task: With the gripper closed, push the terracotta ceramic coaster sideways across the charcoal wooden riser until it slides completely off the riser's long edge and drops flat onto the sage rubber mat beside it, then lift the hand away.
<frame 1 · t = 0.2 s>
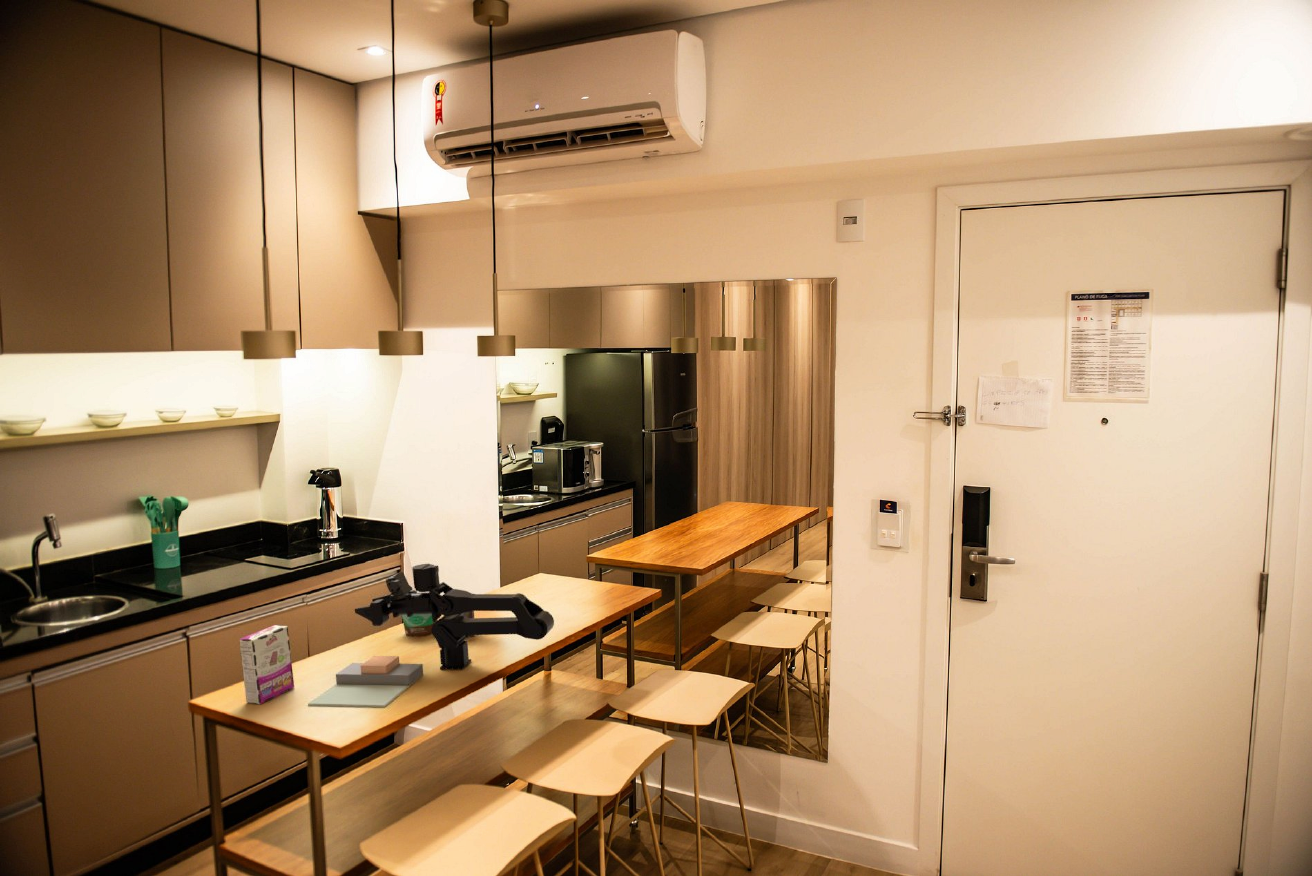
hand: (363, 605, 226), 16 cm above the table, tool horizontal, fingers open, 9 cm apart
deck: (380, 680, 215), on the table
box: (465, 635, 249), on the table
coaster: (380, 668, 215), point 3 cm above the table, touching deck
candy bar box: (270, 696, 209), on the table
mat: (359, 696, 205), on the table
food container: (421, 635, 251), on the table
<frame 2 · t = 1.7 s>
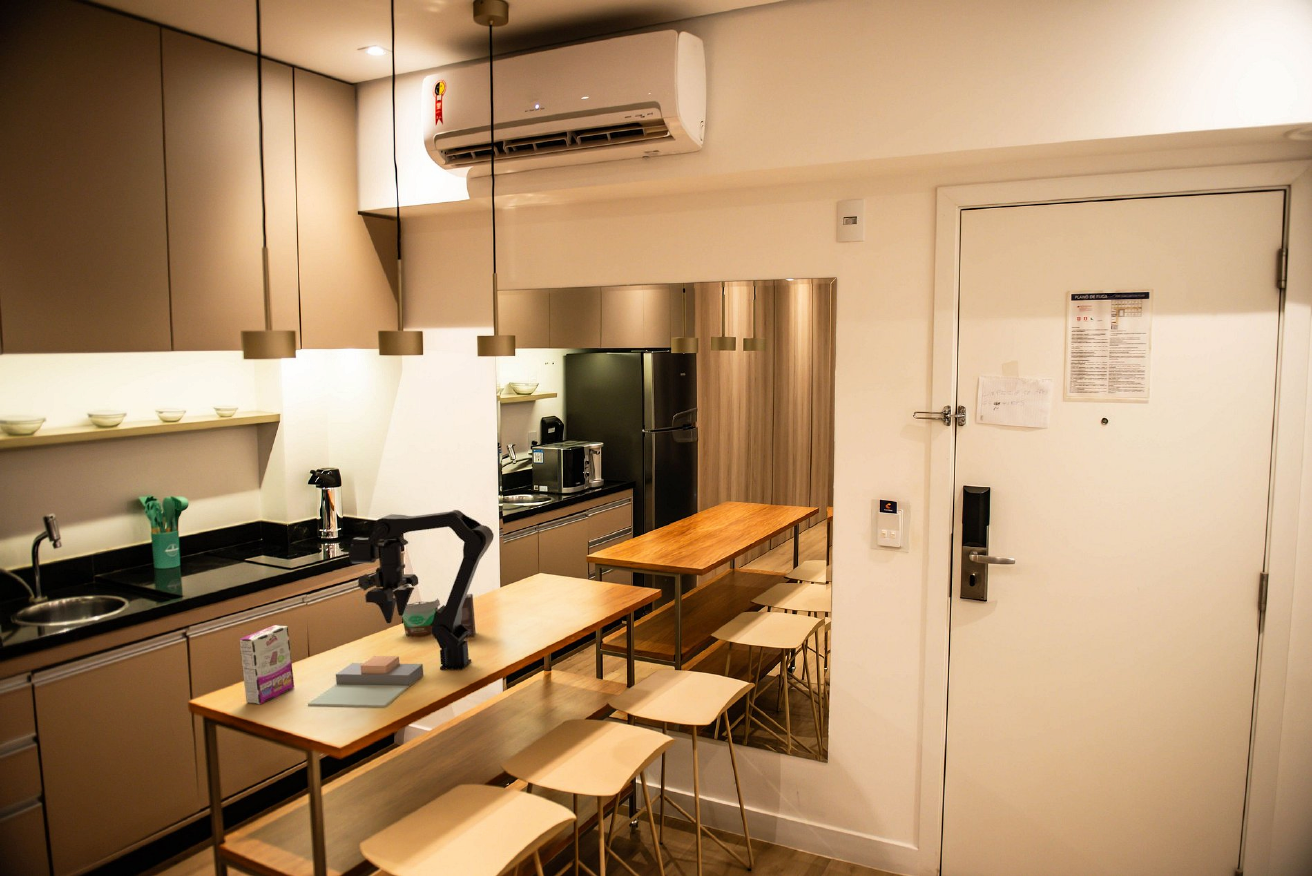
hand: (395, 619, 224), 13 cm above the table, tool pointing down, fingers open, 6 cm apart
nothing on the table moved.
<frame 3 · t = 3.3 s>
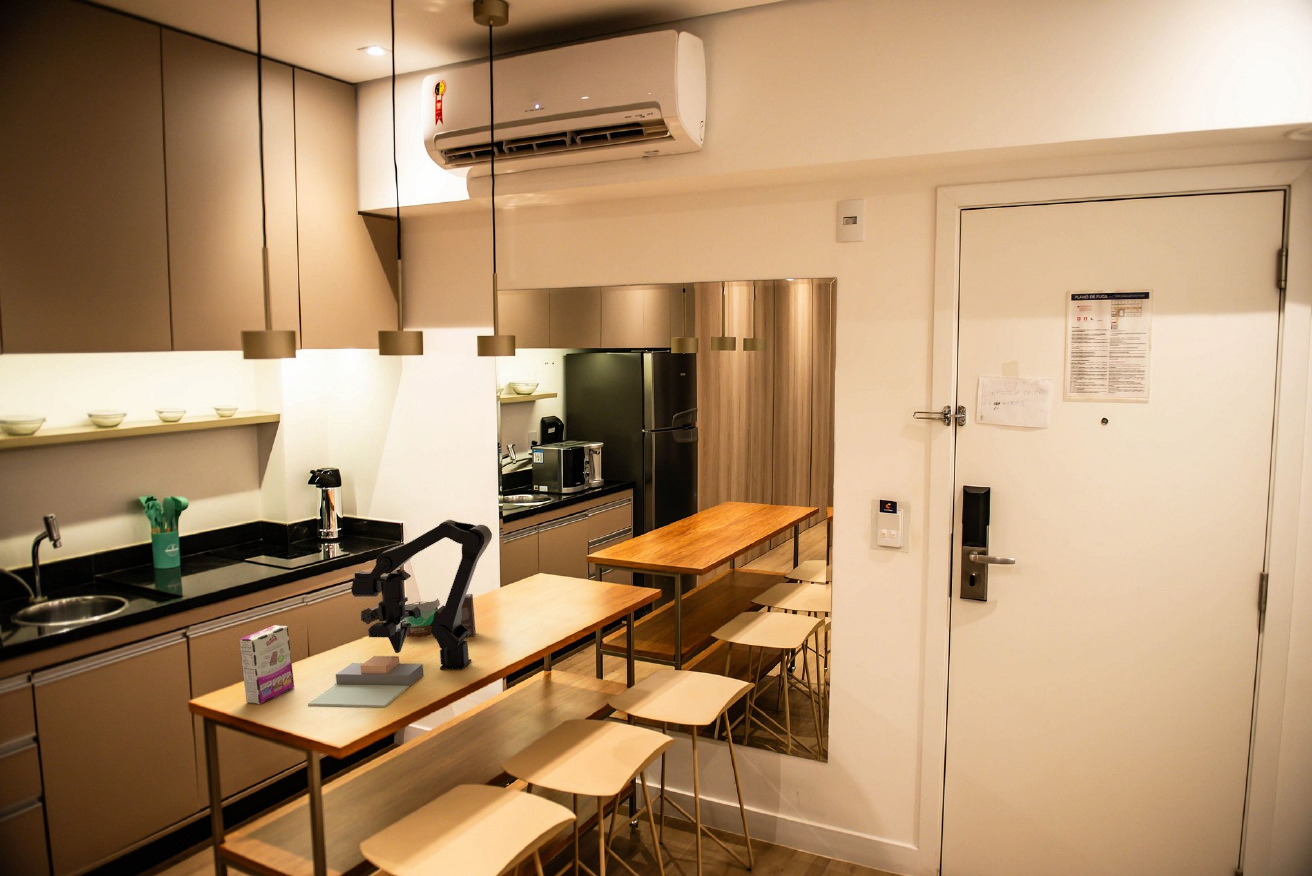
hand: (397, 652, 225), 4 cm above the table, tool pointing down, fingers closed
nothing on the table moved.
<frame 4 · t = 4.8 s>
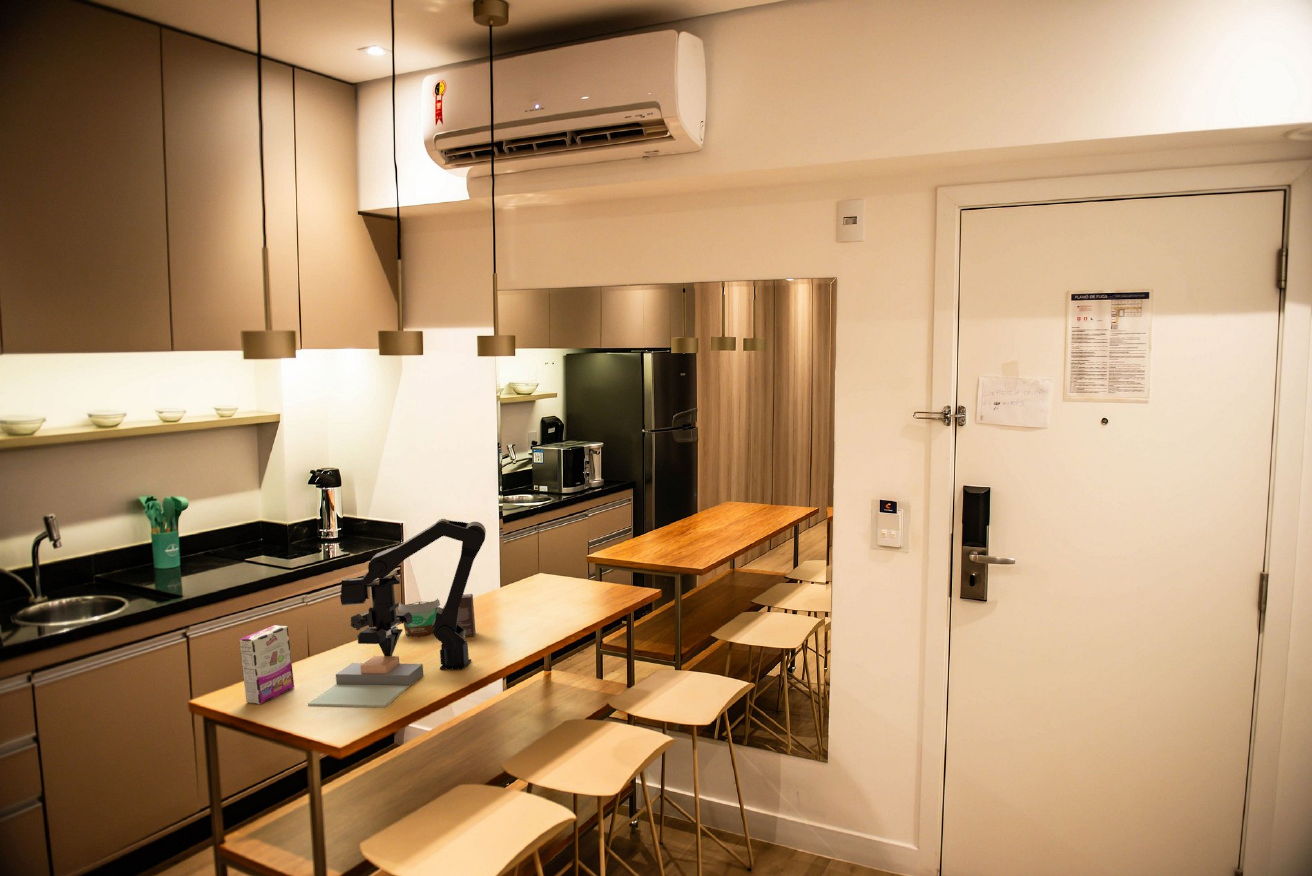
hand: (388, 659, 220), 4 cm above the table, tool pointing down, fingers closed
coaster: (380, 668, 215), point 3 cm above the table, touching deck, gripper
everything else where it was.
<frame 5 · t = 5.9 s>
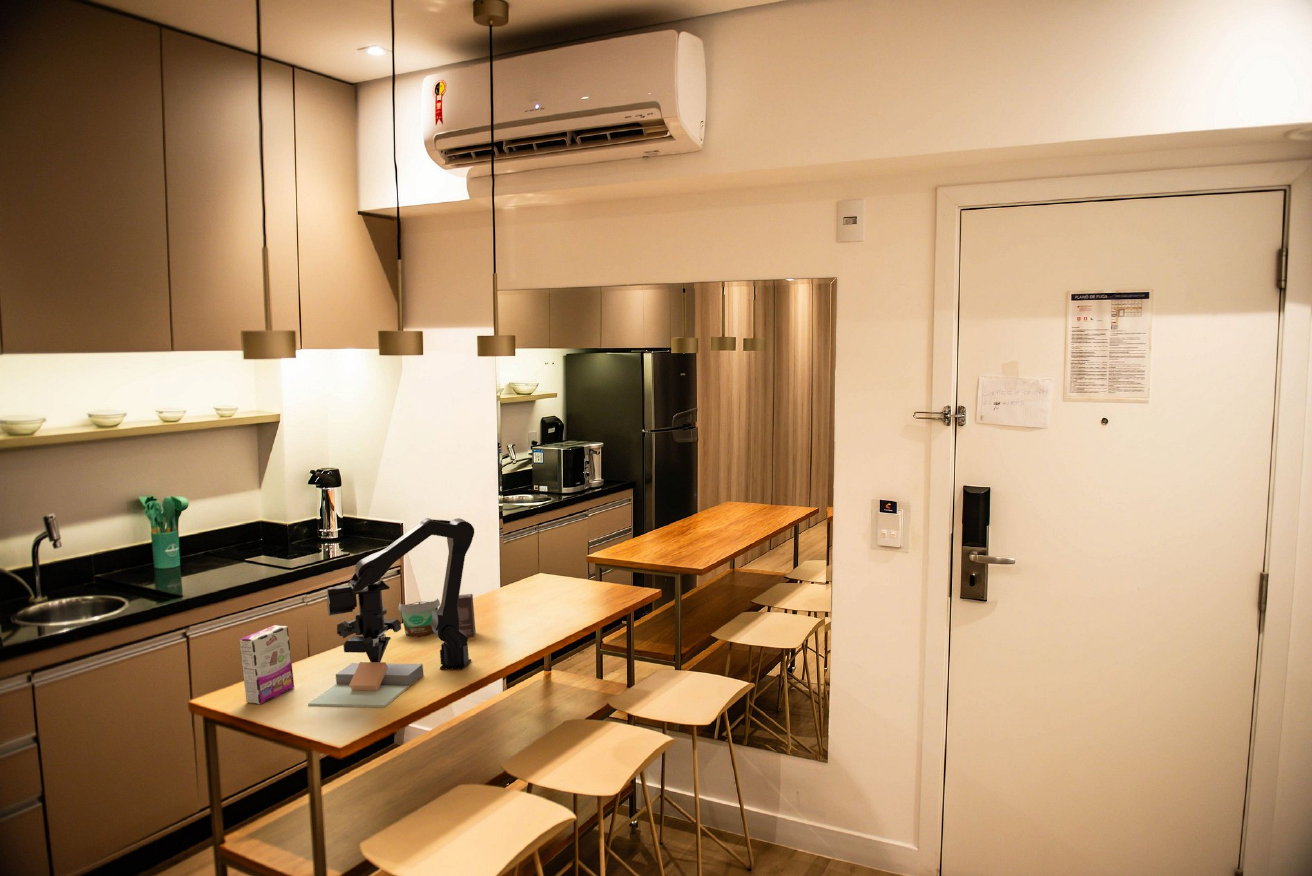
hand: (375, 667, 213), 4 cm above the table, tool pointing down, fingers closed
coaster: (370, 678, 210), point 2 cm above the table, tilted 32°, touching gripper
everything else where it was.
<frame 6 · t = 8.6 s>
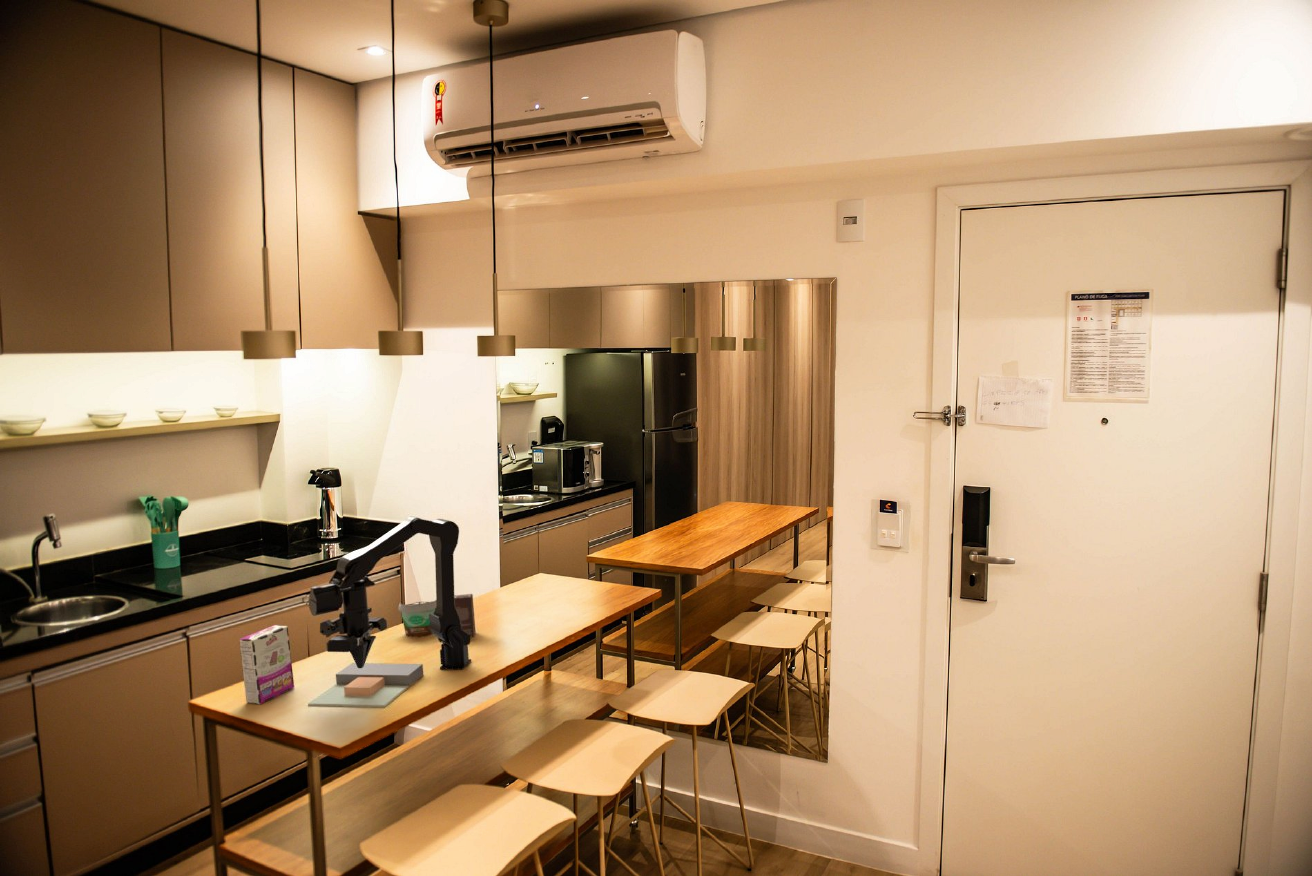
hand: (360, 667, 206), 7 cm above the table, tool pointing down, fingers closed
coaster: (365, 689, 208), resting on mat
everything else where it was.
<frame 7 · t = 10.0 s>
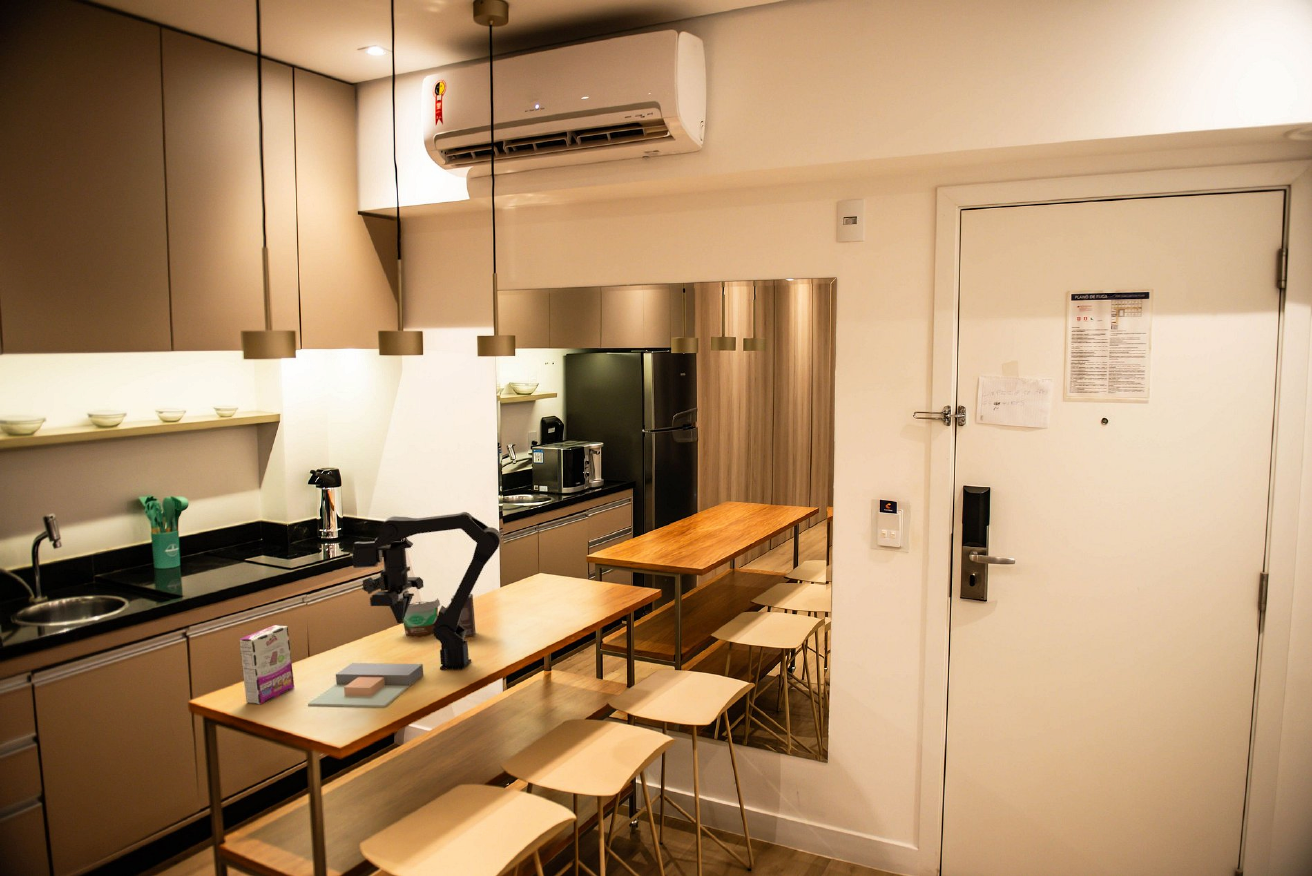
hand: (400, 622, 220), 13 cm above the table, tool pointing down, fingers closed
nothing on the table moved.
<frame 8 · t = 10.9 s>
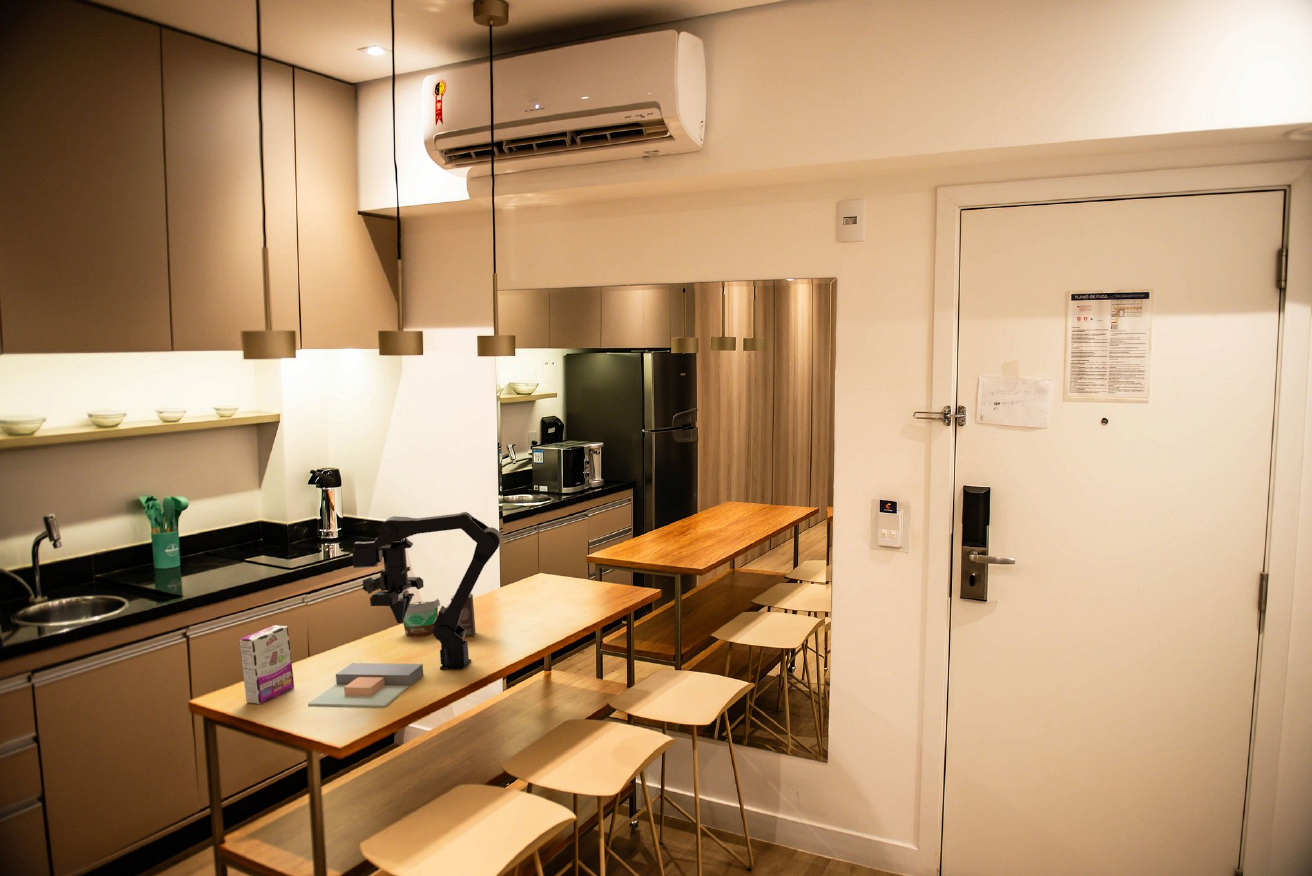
hand: (400, 622, 220), 13 cm above the table, tool pointing down, fingers closed
nothing on the table moved.
at the end: coaster inside the target area on the mat (2.9 cm from its centre), point 0.5 cm above the mat's base; coaster touching mat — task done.
